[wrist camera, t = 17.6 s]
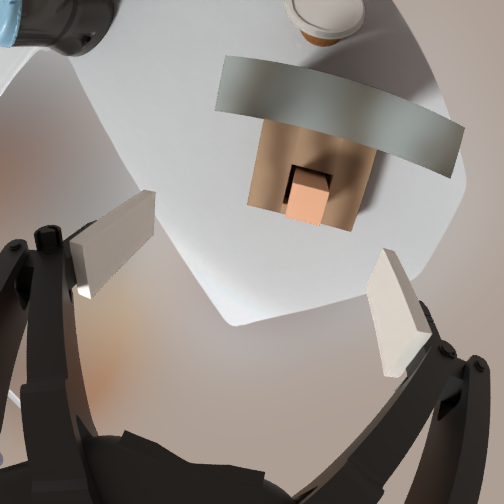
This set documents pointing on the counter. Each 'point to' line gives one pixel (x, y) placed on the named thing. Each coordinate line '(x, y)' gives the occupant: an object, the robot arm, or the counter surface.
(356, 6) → the disposable coffee cup
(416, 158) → the socket stand
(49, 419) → the robot arm
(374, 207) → the counter surface
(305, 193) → the peg
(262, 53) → the counter surface
